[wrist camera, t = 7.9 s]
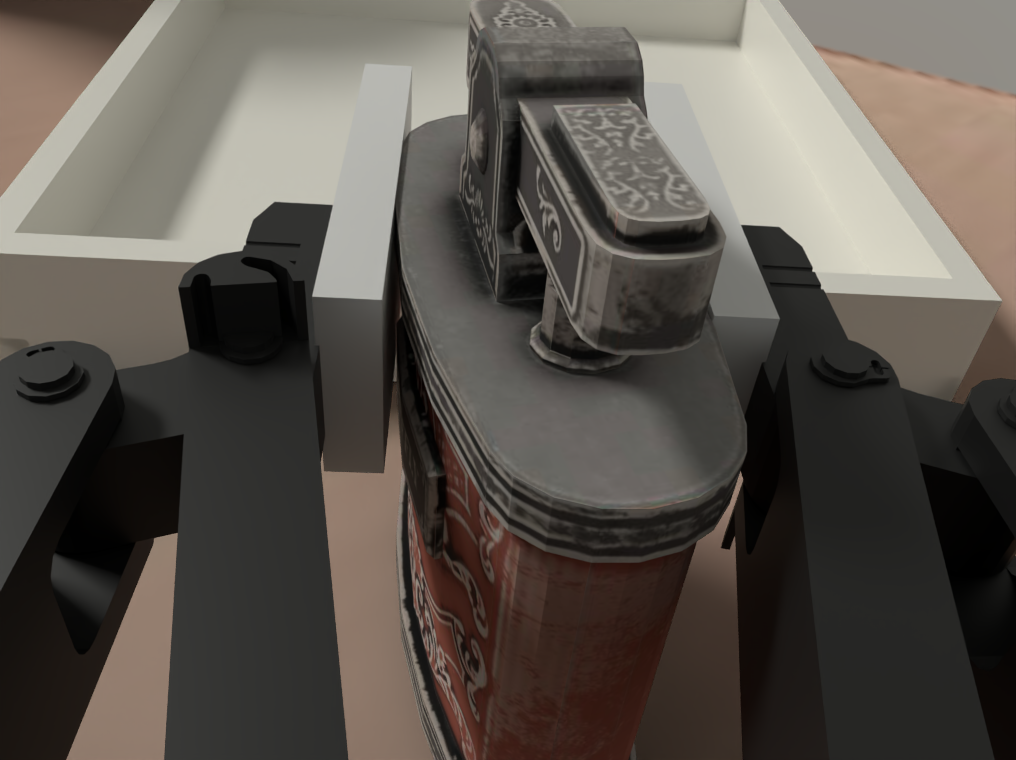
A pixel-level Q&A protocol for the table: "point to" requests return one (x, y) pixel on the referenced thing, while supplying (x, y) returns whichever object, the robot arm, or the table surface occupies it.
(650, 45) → the tray
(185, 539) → the robot arm
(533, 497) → the lighter
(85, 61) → the table surface
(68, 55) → the table surface
